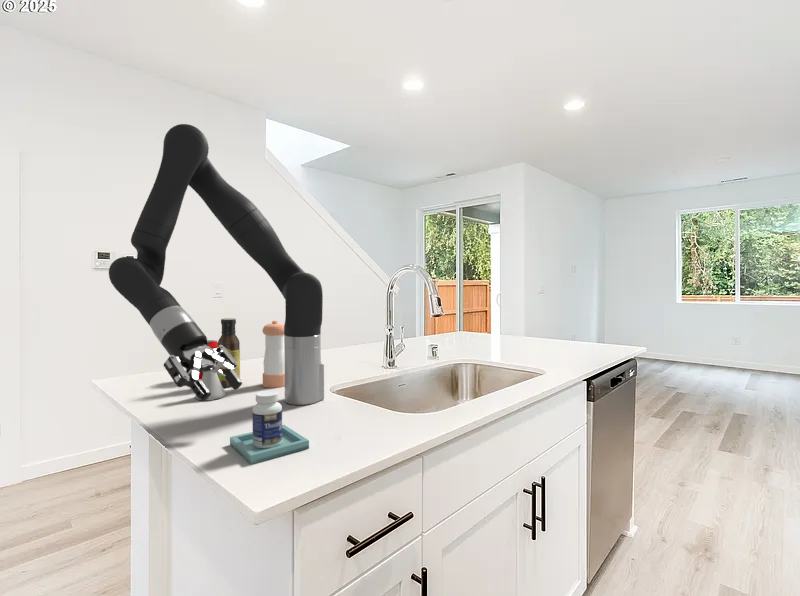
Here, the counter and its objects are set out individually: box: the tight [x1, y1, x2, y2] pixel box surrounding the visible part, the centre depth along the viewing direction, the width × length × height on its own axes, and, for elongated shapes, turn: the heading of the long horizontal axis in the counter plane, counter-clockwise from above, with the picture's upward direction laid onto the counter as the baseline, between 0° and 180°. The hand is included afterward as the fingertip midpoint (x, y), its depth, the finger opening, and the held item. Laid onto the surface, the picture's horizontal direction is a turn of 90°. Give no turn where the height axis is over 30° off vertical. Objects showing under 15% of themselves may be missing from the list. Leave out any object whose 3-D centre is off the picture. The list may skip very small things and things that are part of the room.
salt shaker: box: [261, 320, 285, 389], centre depth 128 cm, size 7×7×19 cm
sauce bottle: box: [217, 317, 241, 388], centre depth 127 cm, size 6×6×20 cm
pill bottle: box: [251, 390, 283, 449], centre depth 81 cm, size 5×5×10 cm
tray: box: [229, 424, 310, 465], centre depth 82 cm, size 11×11×2 cm
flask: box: [194, 361, 227, 401], centre depth 115 cm, size 7×7×10 cm
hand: (223, 392), depth 86 cm, fingers open, 8 cm apart
